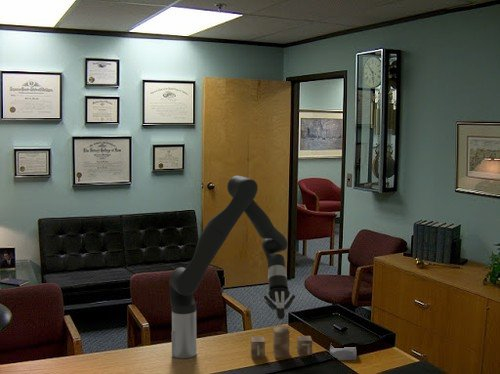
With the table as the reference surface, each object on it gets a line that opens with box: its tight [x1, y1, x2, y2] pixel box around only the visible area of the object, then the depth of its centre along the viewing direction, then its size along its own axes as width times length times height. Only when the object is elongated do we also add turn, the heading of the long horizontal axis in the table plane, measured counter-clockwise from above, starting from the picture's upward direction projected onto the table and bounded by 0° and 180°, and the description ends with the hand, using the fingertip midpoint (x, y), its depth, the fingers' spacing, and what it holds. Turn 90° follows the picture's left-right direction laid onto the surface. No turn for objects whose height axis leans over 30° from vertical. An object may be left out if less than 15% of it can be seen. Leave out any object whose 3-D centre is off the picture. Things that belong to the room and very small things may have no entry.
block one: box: [250, 336, 266, 359], centre depth 219 cm, size 5×5×6 cm
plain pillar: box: [272, 326, 291, 359], centre depth 220 cm, size 6×6×10 cm
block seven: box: [296, 335, 313, 357], centre depth 220 cm, size 5×5×6 cm
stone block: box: [329, 344, 358, 361], centre depth 221 cm, size 12×5×10 cm
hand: (281, 318), depth 220 cm, fingers closed
